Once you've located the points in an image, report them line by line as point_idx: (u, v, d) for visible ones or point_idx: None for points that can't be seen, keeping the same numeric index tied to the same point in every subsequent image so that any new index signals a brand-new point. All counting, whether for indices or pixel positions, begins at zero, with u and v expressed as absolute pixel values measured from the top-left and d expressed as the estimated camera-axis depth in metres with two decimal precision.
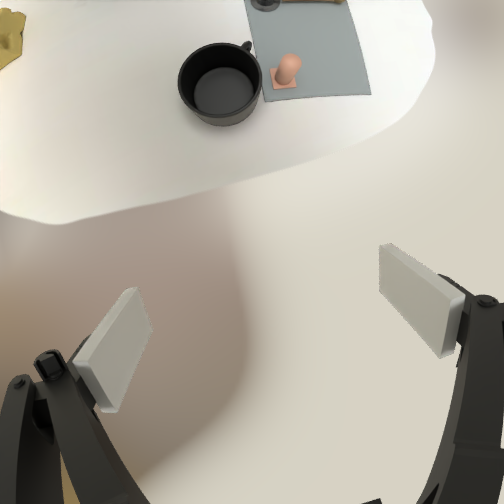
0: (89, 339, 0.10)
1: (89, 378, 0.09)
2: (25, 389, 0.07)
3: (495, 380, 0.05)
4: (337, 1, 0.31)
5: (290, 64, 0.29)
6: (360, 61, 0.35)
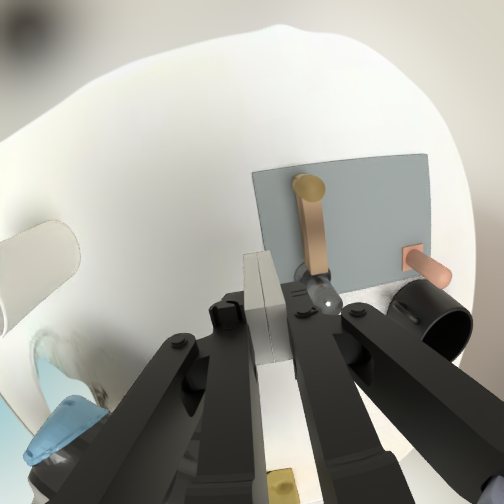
0: (246, 292, 0.12)
1: (258, 326, 0.11)
2: (184, 352, 0.09)
3: (344, 388, 0.06)
4: None
5: (445, 279, 0.28)
6: (392, 161, 0.31)
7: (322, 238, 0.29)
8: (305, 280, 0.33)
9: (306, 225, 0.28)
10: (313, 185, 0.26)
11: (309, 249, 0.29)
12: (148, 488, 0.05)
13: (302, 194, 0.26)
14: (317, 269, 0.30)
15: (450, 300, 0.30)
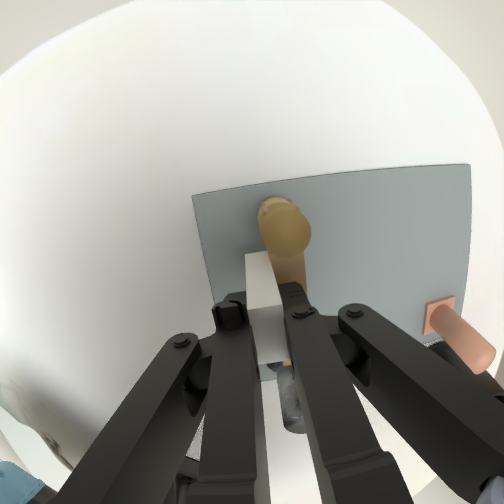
0: (248, 291, 0.12)
1: (261, 326, 0.11)
2: (187, 352, 0.09)
3: (341, 389, 0.06)
4: None
5: (486, 361, 0.15)
6: (422, 175, 0.19)
7: None
8: (277, 362, 0.21)
9: None
10: (288, 227, 0.14)
11: None
12: (150, 488, 0.05)
13: (266, 243, 0.14)
14: None
15: (484, 379, 0.17)
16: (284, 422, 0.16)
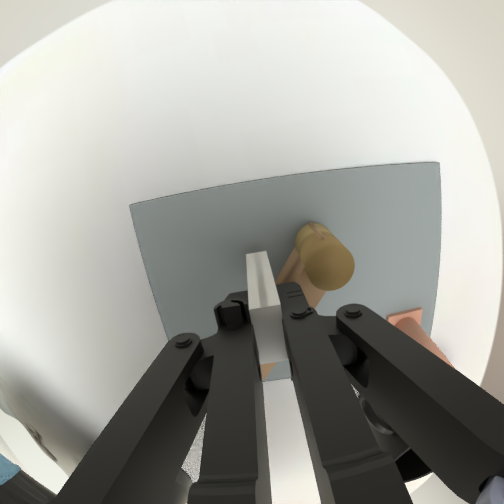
0: (250, 291, 0.12)
1: (262, 325, 0.11)
2: (188, 352, 0.09)
3: (340, 389, 0.06)
4: None
5: None
6: (377, 176, 0.18)
7: None
8: None
9: None
10: (336, 264, 0.14)
11: None
12: (151, 488, 0.05)
13: (310, 265, 0.14)
14: None
15: None
16: None
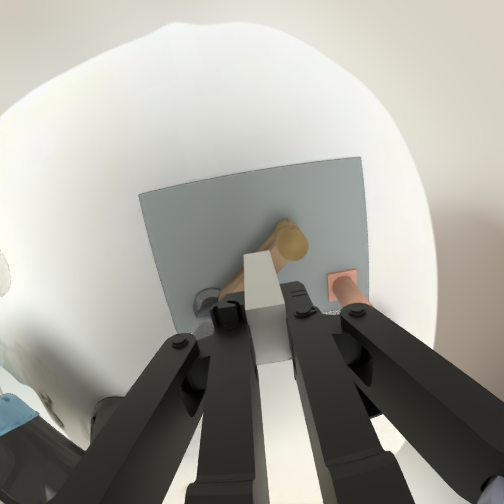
0: (247, 292, 0.12)
1: (259, 326, 0.11)
2: (185, 352, 0.09)
3: (343, 389, 0.06)
4: None
5: None
6: (309, 169, 0.27)
7: None
8: (199, 311, 0.29)
9: None
10: (297, 244, 0.23)
11: (237, 287, 0.26)
12: (148, 488, 0.05)
13: (281, 241, 0.23)
14: None
15: None
16: None
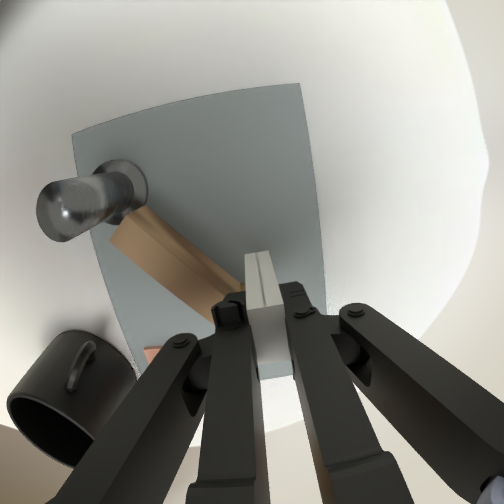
0: (248, 292, 0.12)
1: (260, 326, 0.11)
2: (186, 352, 0.09)
3: (342, 389, 0.06)
4: None
5: None
6: None
7: (162, 279, 0.16)
8: (111, 174, 0.16)
9: (201, 278, 0.16)
10: None
11: (164, 249, 0.15)
12: (149, 488, 0.05)
13: None
14: (125, 230, 0.15)
15: None
16: (55, 182, 0.11)
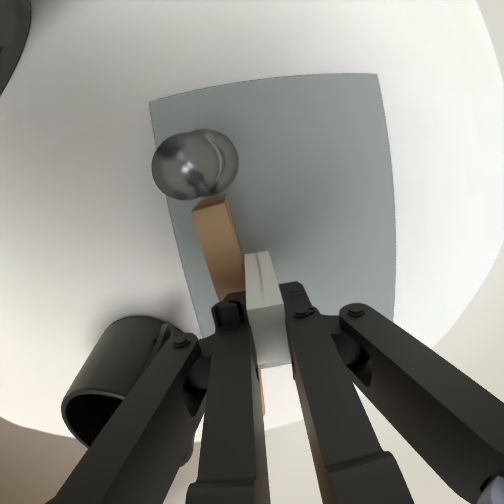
0: (248, 292, 0.12)
1: (260, 326, 0.11)
2: (186, 352, 0.09)
3: (342, 389, 0.06)
4: None
5: None
6: (388, 288, 0.22)
7: (215, 274, 0.16)
8: None
9: None
10: None
11: (236, 253, 0.16)
12: (149, 488, 0.05)
13: None
14: (213, 215, 0.15)
15: None
16: (183, 134, 0.11)
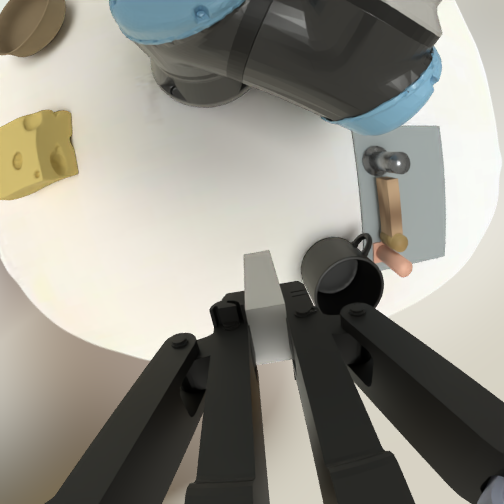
0: (247, 292, 0.12)
1: (259, 326, 0.11)
2: (185, 352, 0.09)
3: (343, 388, 0.06)
4: (381, 235, 0.41)
5: (404, 270, 0.36)
6: (442, 226, 0.42)
7: (391, 206, 0.36)
8: None
9: (401, 216, 0.37)
10: (400, 246, 0.37)
11: (399, 198, 0.36)
12: (148, 488, 0.05)
13: (407, 240, 0.37)
14: (394, 182, 0.35)
15: None
16: (401, 152, 0.31)
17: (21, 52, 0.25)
